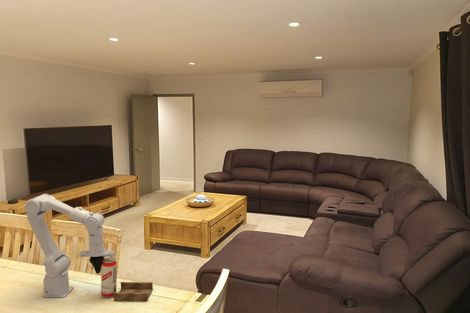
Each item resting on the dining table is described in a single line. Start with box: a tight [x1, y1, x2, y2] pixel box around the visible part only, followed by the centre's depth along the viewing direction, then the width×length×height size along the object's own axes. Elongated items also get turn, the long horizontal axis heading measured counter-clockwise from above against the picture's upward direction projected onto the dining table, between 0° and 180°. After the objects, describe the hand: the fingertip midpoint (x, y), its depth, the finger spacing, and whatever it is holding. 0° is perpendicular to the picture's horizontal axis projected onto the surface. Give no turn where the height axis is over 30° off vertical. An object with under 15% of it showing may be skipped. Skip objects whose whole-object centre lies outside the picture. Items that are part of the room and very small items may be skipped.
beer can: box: [100, 257, 118, 299], centre depth 153 cm, size 6×6×16 cm
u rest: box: [113, 281, 154, 303], centre depth 154 cm, size 14×10×4 cm
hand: (98, 272), depth 153 cm, fingers closed
